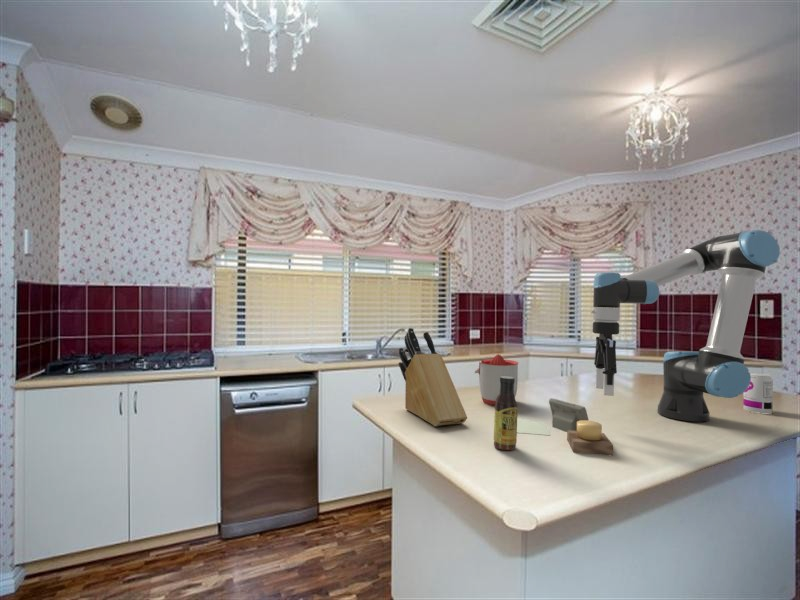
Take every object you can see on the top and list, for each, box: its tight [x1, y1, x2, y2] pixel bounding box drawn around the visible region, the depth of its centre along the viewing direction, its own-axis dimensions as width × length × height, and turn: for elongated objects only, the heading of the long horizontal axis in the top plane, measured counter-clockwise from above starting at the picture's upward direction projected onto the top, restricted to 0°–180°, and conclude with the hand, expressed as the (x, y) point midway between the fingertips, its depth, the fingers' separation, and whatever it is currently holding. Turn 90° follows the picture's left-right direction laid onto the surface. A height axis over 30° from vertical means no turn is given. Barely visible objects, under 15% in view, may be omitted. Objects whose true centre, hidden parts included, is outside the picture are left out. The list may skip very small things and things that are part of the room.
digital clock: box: [548, 397, 590, 433], centre depth 130 cm, size 14×8×9 cm, turn 17°
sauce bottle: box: [493, 376, 518, 451], centre depth 113 cm, size 7×6×20 cm
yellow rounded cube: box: [577, 420, 603, 440], centre depth 113 cm, size 6×6×6 cm
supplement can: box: [742, 372, 774, 413], centre depth 149 cm, size 8×8×15 cm
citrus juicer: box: [474, 353, 519, 407], centre depth 162 cm, size 16×17×20 cm
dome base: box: [566, 430, 614, 457], centre depth 113 cm, size 10×10×3 cm
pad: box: [517, 417, 551, 437], centre depth 133 cm, size 13×17×1 cm
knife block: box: [398, 327, 468, 427], centre depth 146 cm, size 11×35×31 cm, turn 23°
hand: (604, 391), depth 127 cm, fingers open, 10 cm apart
